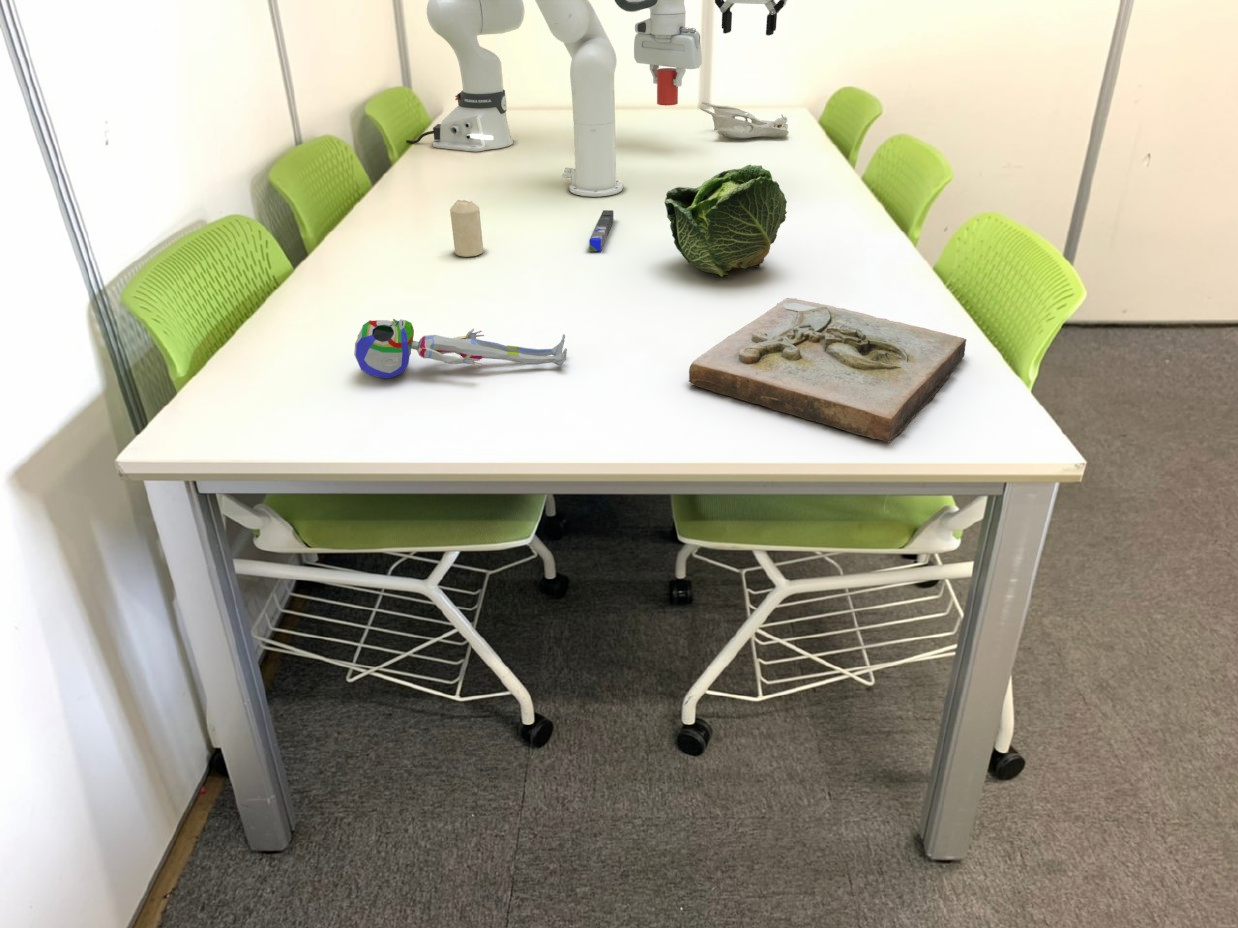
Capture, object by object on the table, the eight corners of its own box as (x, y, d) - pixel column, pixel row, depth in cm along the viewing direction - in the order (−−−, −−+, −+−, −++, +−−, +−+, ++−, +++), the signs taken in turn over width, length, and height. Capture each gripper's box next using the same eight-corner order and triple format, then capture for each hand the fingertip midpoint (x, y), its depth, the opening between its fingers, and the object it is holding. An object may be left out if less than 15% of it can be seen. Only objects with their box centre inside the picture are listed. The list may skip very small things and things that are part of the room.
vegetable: (694, 294, 173) (643, 202, 166) (775, 239, 175) (728, 145, 167) (734, 307, 155) (678, 205, 147) (824, 245, 156) (773, 141, 149)
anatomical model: (702, 99, 259) (790, 97, 255) (702, 132, 264) (788, 131, 260) (698, 109, 247) (790, 108, 243) (698, 144, 252) (788, 143, 248)
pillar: (613, 210, 190) (600, 241, 173) (613, 220, 191) (600, 251, 174) (603, 210, 190) (589, 240, 173) (603, 220, 191) (589, 251, 174)
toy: (569, 347, 126) (349, 329, 122) (563, 400, 131) (350, 385, 126) (565, 318, 135) (359, 301, 130) (559, 369, 139) (360, 354, 134)
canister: (680, 104, 233) (681, 70, 229) (661, 106, 232) (661, 71, 228) (673, 101, 238) (673, 67, 233) (654, 102, 236) (654, 69, 232)
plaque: (899, 396, 108) (687, 337, 122) (890, 447, 111) (686, 383, 126) (977, 316, 128) (788, 274, 143) (967, 361, 132) (784, 315, 147)
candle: (488, 249, 176) (483, 198, 171) (475, 258, 172) (470, 206, 167) (463, 246, 178) (457, 196, 173) (450, 255, 174) (443, 204, 168)
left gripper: (708, 27, 221) (706, 87, 228) (646, 22, 233) (646, 79, 240) (691, 29, 217) (690, 90, 224) (629, 24, 229) (630, 82, 236)
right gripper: (800, -59, 182) (792, 33, 191) (720, -60, 189) (717, 30, 198) (788, -58, 177) (781, 38, 186) (707, -58, 183) (704, 34, 193)
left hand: (667, 85), depth 232 cm, fingers closed on canister, 5 cm apart
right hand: (748, 33), depth 192 cm, fingers open, 9 cm apart
